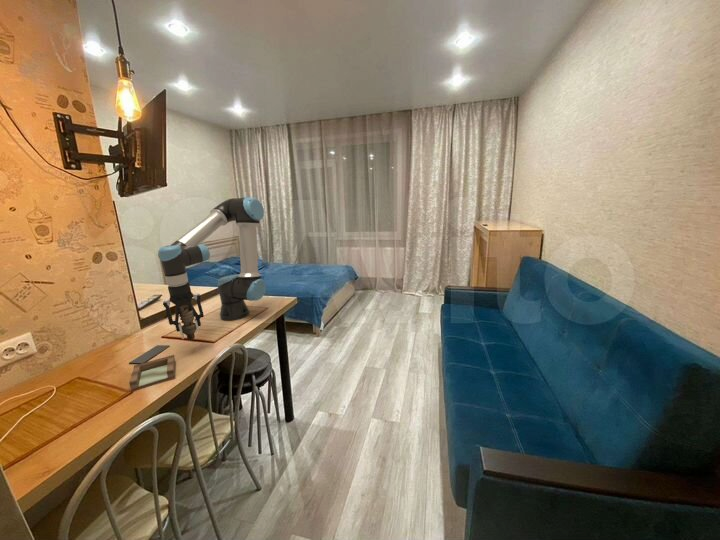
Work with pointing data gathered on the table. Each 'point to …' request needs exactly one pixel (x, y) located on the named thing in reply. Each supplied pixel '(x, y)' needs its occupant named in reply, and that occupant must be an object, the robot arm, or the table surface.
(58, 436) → the table surface
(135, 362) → the smartphone
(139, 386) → the brown picture frame
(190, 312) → the stone figurine
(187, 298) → the robot arm
